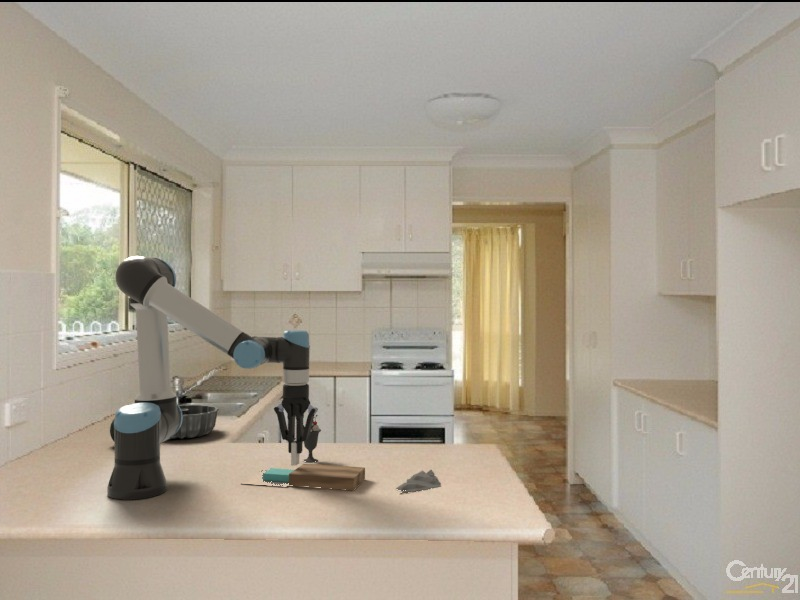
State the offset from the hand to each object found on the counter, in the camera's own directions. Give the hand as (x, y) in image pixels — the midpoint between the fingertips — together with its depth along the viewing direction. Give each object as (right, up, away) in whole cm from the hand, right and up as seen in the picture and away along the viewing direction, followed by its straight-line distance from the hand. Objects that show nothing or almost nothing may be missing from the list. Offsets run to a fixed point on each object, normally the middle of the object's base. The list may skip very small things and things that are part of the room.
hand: (295, 464), depth 198 cm
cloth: (+36, -6, -1) cm, 37 cm away
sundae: (+1, -5, +23) cm, 24 cm away
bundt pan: (-53, -4, +62) cm, 81 cm away
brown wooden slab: (+10, -5, -2) cm, 11 cm away
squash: (-65, -4, +44) cm, 78 cm away
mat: (-6, -5, +1) cm, 8 cm away
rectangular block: (-4, -4, +1) cm, 6 cm away
